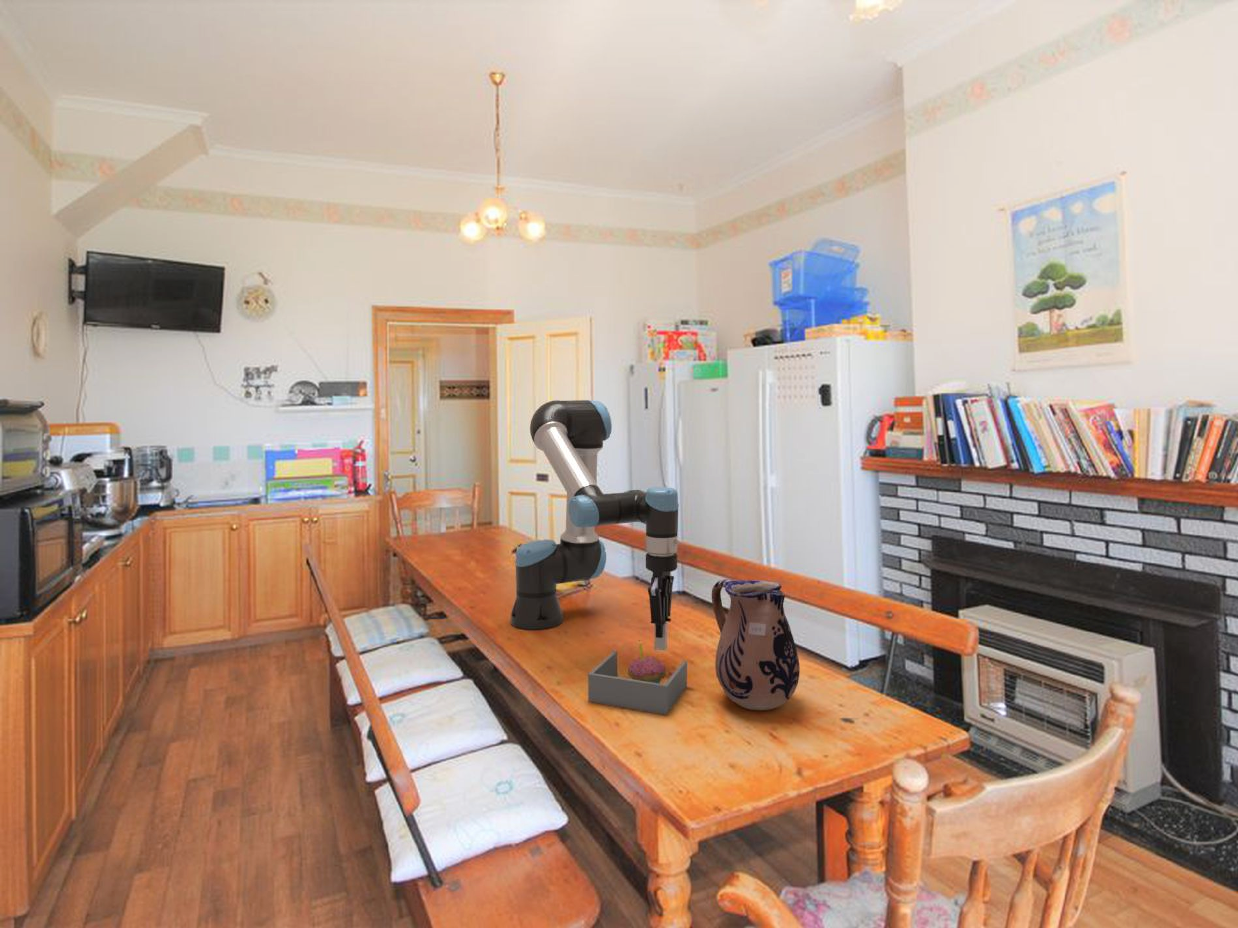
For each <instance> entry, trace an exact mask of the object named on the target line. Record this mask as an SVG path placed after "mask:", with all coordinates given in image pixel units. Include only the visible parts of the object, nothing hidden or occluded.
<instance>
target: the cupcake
mask: <svg viewBox="0 0 1238 928" xmlns="http://www.w3.org/2000/svg"><path fill="white" fill-rule="evenodd" d="M638 640H639V642H638V648H639V656H640V657H638V658H635V659H633V660H632V661H631V662H630V663H629V664H628V666H627V675H628V676H629V679H633V680H639V681H646V682H652V683H659V684H661V681H662V679H664V678H665V677H666V675H667V671H666V666H665V664H664V663H663V662H661V661H660V660H659V659H658V658H655V657H654V656H644V650H643V643H642V641H641V639H638Z"/></svg>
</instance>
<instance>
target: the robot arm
mask: <svg viewBox="0 0 1238 928" xmlns="http://www.w3.org/2000/svg"><path fill="white" fill-rule="evenodd" d="M529 425H530V426H529V432H530V438H531V439H532V442H533V444H534V445H535V447H536V448H537V449H539V450H540V451H542V452H543V453H544V455H545V457H546V459H547V460H548V462H549V464H550V465H551V468H552V469H553V471H554V473H555V474H556V476H557V478H558V480H559V481H560V483H561V485H562V486H563V489H564V490H565V492H566V507H565V508H566V511H565V513H566V514H565V530H564V532H563V533H562V534H560V537H559V538H560V541H559V543H556V541H555V540H554V539H553V540H552V539H537V540H532V541H529V542H525V543H523V544H521V545H520V546H519V547H518V548H517V549H516V552H515V561H514V565H515V583H516V584H515V585H516V587H515V588H516V589H515V590H516V597H515V600H514V604H513V606H512V610H511V614H510V624H511V625H512V626H513V627H515V628H518V629H523V630H545V629H551V628H555V627H557V626H559V625H561V624H562V623H563V620H564V617H563V616H564V615H563V610H562V607H561V605H560V601H559V598H558V596H557V585H559V584H567V583H575V582H587V581H589V580H594V579H596V578H599V577H600V576H601V575H602V573H603V572H604V571H605V568H606V563H607V552H606V547H605V544H604V543H603V541H601V540H600V536H599V535H598V534H597V532H596V531H595V527H598V526H599V527H600V526H608V525H619V524H621V525H622V524H628V523H630V524H631V523H641V524H645V551H646V552H647V553H646V554H645V568H646V569H647V571H650V572H652V576H651V578H650V579H651V580H650V584H651V586H648V588H647V593H648V597H649V609H650V610H649V611H650V620H651V621H650V623H651V624H654V647H653V648H654V650H657V651H662V652H663V651H665V652H666V651H667V650H668V623H671V621H672V618H669V617H670V616H671V613H672V612H671V611H672V609H671V608H672V599H673V598H672V597H673V588H674V587H673V586H674V580H675V577H674V575H672V574H671V573H672V572H674V571H676V570H677V569H678V554H677V552H678V545H679V544H680V540H678V532H679V530H678V529H679V526H678V525H679V508H680V507H679V500H678V498H679V497H678V491H677V490H676V489H675V488H673V487H667V486H655V487H654V486H653V487H648V489H647V490H646V491H644V490H641V489H627V490H626V491H624V492H615V493H613V492H612V493H603V492H602V490H601V489H600V487H599V486H598V484H597V474H598V473H597V472H598V453H599V452H600V451H601V450H602V449H603V448H604V447H603V446H604V442H605V441H606V440H608V439H609V438H610V437H611V436H610V435H611V434H612V429H613V428H612V426H613V425H612V418H611V415H610V412H609V410H608V408H607V405H605V404H604V403H603V402H601V401H599V400H589V399H580V400H579V399H578V400H576V399H575V400H557V399H556V400H551V401H550V400H549V401H548V402H545V403H543V404H542V405H540V406H539V407H538V408H537V409H536V411H534V414H533V415H532V416H531V420H530V423H529Z"/></svg>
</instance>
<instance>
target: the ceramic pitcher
mask: <svg viewBox="0 0 1238 928" xmlns="http://www.w3.org/2000/svg"><path fill="white" fill-rule="evenodd" d="M723 588H724V591H725V592H726V594H727V595H728V596H729V598H730V606H729V610H728V613H727V616H726V615H725V611H724V608H723V603H722V602H723V601H722V596H721V593H722V589H723ZM781 588H782V584H781V583H778V582H776V581H766V580H765V581H764V580H762V579H761V580H757V579H754V580H753V579H749V580H732V579H728V578H723V579H721V580H719V581H717V582H716V583H715V584H714V585H713V586H712V589H711V604H712V609H713V610H712V611H713V613H714V616H715V620H716V623H717V626H718V629H719V632H720V636H719V640H718V644H717V647H716V653H715V663H714V664H715V673H716V674H715V675H716V677H717V680H718V683H719V685H720V686H721V688H722V690H723V691H724V693H725V694H726V696H727V697H728V698H729V699H730V700H731V701H732V702H733V703H736V704H737V705H738V706H739V707H741V708H743V709H747V710H750V711H769V710H773V709H776V708H779V707H781V706H783V704H785V703H786V702H787V701H789V699H791V698H792V696H793V695H794V693H795V692H796V690H797V687H798V684H799V680H800V669H801V668H800V660H799V654H798V651H797V647H796V643H795V639H794V636H793V633H792V630H791V627H790V624H789V621H788V619H787V616H786V613H785V609H784V608H785V607H784V601H785V598H786V594H785V592H784V591H782V590H781Z"/></svg>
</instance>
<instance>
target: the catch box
mask: <svg viewBox="0 0 1238 928" xmlns="http://www.w3.org/2000/svg"><path fill="white" fill-rule="evenodd" d="M587 684H588V685H587V687H588V688H587V689H588V691H587V693H588V694H587V696H588V700H587V701H588V702H590V703H595V704H602V705H608V706H611V707H612V706H613V707H618V708H624V709H631V710H635V711H636V710H637V711H642V712H648V713H653V714H654V713H655V714H660V715H664V716H665V715H666V716H668V714H669V713H670V711H671V710H672V709H673V707H674V706H675V704H676V703H678V702H677V701H678V700H679V699H680V697H681V696H682V695H683V693H684V692H685V690H687V688H688V661H687V660H683V661H682V662H681V664H679V666H678V667H677V668H676V669H675V671H674V672H673V673H672V675H670V677H668V680H667V681H666V682H665V683H660V684H659V683H652V682H646V681H639V680H633V679H632V678H625V677H620V676H619V677H618V651H617V650H613V651H612V652H611V653H610V654H609V655H608V656H606V658H605V659H604V660H602V661H601V662H600V663H599V664H598V665H597V666H595V668H593V669H592V670H591V671H590V672H589V673H588V674H587Z"/></svg>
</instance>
